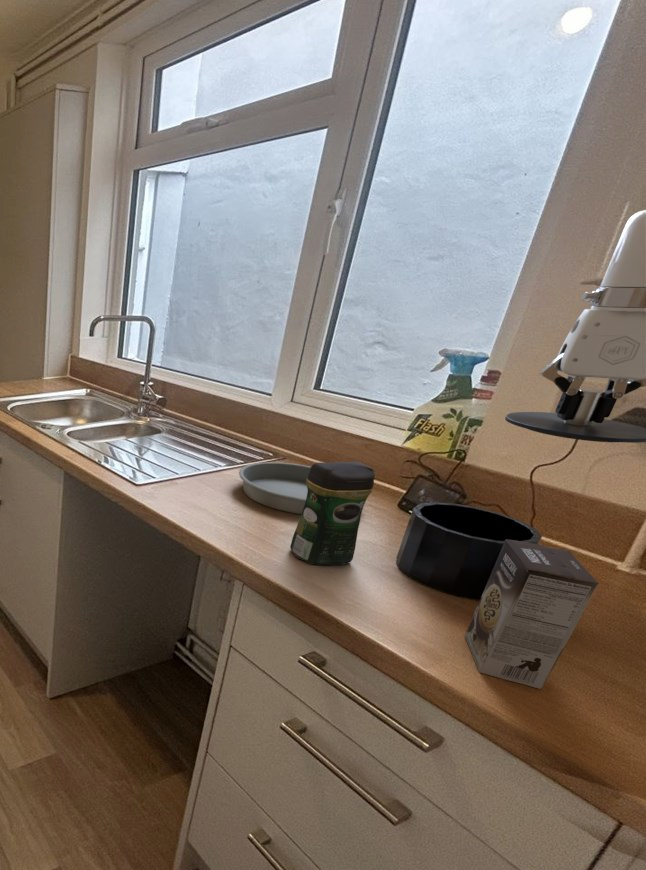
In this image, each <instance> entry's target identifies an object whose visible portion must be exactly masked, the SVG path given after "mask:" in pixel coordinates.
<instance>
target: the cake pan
mask: <svg viewBox="0 0 646 870" xmlns="http://www.w3.org/2000/svg"><path fill="white" fill-rule="evenodd" d="M310 468H311V466H310V465H304V464H298V463H291V462H277V461H276V462H275V461H273V462H271V461H269V462H267V461H266V462H255V463H251V464H246V465H245V466H243V467H241V468H240V469H239V472H238V474H239V477H240V479H241V480H242V482H243V483H242V484H243V485H242V486H243V488H242V489H243V492H244V494H245V495H246V496H247V497H248V498H249V499H250V500H253V501H255V502H256V503H258V504H261V505H263V506H264V507H265V506H266V507H268V508H272V509H275V510H279V511H283V512H287V513H292V514H297V515H301V514H302V511H303V508H304V505H305V502H306V498H307V492H308V488H307V484H306V480H307V477H308V474H309V472H310Z"/></svg>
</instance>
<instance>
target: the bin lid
mask: <svg viewBox="0 0 646 870" xmlns="http://www.w3.org/2000/svg"><path fill="white" fill-rule="evenodd" d="M604 394H605V390H600V389H593V388H590V389H589V388H580V389H579V390H578V394H577V396H579V397H580V398H579V401H578V403H577V405H576V408H575V410H574V412H573V414H572V417H571V419H570V420H562V419H561V418H559V417H557V414H558V413H556V412H545V411H516V412H510V413H507V414H506V415H505V418H504V419H505V421H506V422H507V423H508V424H511V425H514V426H516V427H520V428H521V429H522V428H523V429H526V430H528V431H533V432H535V433H540V434H544V435H548V436H554V437H558V438H564V439H571V440H577V441H586V442H587V441H588V442H598V443H629V444H630V443H635V444H636V443H646V428H645V427H643V426H639V425H635V424H631V423H626V422H622V421H617V420H612V419H606V418H604V420H603V422H602V423H596V422H594V421H593V419H594V417H595V414H596V412H597V410H598V408H599V406H600V403H601V401H602V399H603V397H604Z"/></svg>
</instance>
